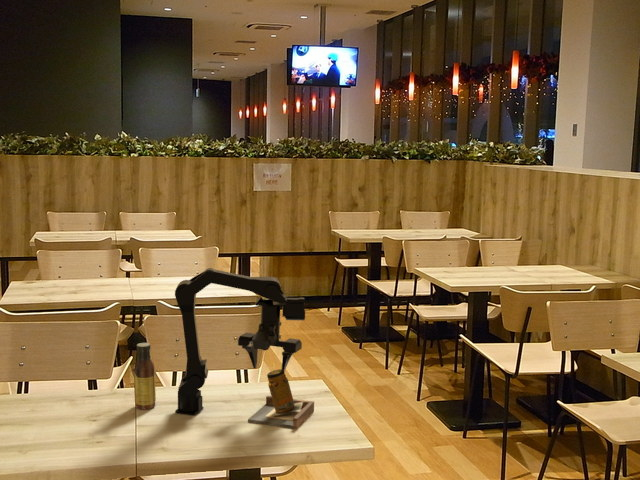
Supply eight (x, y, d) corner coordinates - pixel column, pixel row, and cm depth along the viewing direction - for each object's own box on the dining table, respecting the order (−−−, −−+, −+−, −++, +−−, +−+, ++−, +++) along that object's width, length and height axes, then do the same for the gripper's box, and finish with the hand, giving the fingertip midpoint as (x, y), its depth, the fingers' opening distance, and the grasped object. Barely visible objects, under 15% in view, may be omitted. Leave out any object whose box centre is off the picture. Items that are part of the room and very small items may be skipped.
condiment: (276, 408, 240) (266, 370, 239) (303, 402, 239) (293, 364, 238) (273, 416, 233) (262, 378, 232) (300, 410, 232) (290, 372, 231)
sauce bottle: (142, 402, 246) (141, 340, 243) (159, 405, 244) (159, 342, 241) (130, 409, 240) (129, 345, 237) (147, 412, 238) (146, 347, 235)
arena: (248, 421, 231) (248, 412, 231) (267, 404, 246) (267, 395, 245) (297, 428, 227) (297, 418, 226) (314, 411, 241) (314, 401, 241)
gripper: (230, 322, 233) (229, 373, 235) (289, 329, 227) (287, 382, 229) (246, 314, 243) (245, 363, 245) (303, 321, 237) (301, 371, 239)
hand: (268, 370), depth 239 cm, fingers open, 9 cm apart
